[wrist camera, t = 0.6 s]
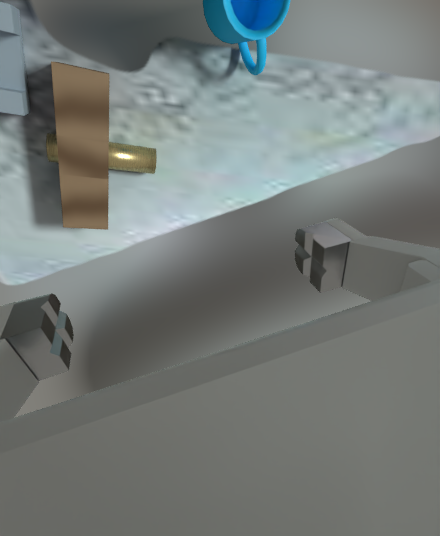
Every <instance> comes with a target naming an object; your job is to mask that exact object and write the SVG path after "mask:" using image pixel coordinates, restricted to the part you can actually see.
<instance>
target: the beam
mask: <svg viewBox="0 0 440 536" xmlns="http://www.w3.org/2000/svg"><path fill="white" fill-rule="evenodd" d="M51 67H52V80H53V94H54V107H55V121H56V135H57V148H58V162H59V175H60V189H61V202H62V216H63V227H68V228H89V229H108V165H109V73H105V72H100V71H96V70H91V69H87V68H82V67H77V66H73V65H68V64H64V63H59V62H51Z"/></svg>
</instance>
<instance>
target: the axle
mask: <svg viewBox="0 0 440 536" xmlns="http://www.w3.org/2000/svg"><path fill="white" fill-rule="evenodd" d="M46 148H47V157H48V160H49V162H56V163H59V162H58V148H57V135H56V134H51V133H48V134H47V138H46ZM108 169H116V170H125V171H134V172H142V173H151V174H154V173H155V169H156V149H154V148H147V147H140V146H133V145H126V144H119V143H112V142H109V165H108Z"/></svg>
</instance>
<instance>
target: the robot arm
mask: <svg viewBox="0 0 440 536" xmlns="http://www.w3.org/2000/svg"><path fill="white" fill-rule="evenodd" d="M295 241H296V242H297V243H298V244H299V245H298V247H297V248H296V250H295V262H296V266H297V268H298V270H299V271H300V272H301V273H302V274H303V275H305V276H308V277H310V283H311V284H312V285H313V286H314V287H315V288H316V289H317V290H318V291H319V292H320V293H322V292H326V291H329V290H333V289H336V288H340V287H342V288H344V289H346V290H348V291H350V292H353V293H355V294H357V295H359V296H362V297H364V298H366V299H369V300H371V302H368V303H365V304H362V305H359V306H355V307H352V308H349V309H347V310H343V311H341V312H337V313H334V314H331V315H328V316H325V317H322V318H319V319H316V320H312V321H310V322H306V323H304V324H300V325H297V326H294V327H291V328H288V329H285V330H282V331H279V332H276V333H273V334H269V335H266V336H263V337H260V338H257V339H254V340H251V341H248V342H245V343H242V344H239V345H236V346H233V347H230V348H227V349H224V350H221V351H218V352H215V353H212V354H209V355H205V356H202V357H199V358H196V359H193V360H190V361H187V362H184V363H181V364H178V365H175V366H172V367H169V368H166V369H162V370H159V371H156V372H153V373H151V374H147V375H144V376H141V377H138V378H135V379H132V380H129V381H126V382H123V383H120V384H116V385H114V386H110V387H107V388H104V389H101V390H98V391H95V392H92V393H89V394H86V395H83V396H80V397H77V398H74V399H70V400H67V401H64V402H61V403H58V404H55V405H52V406H49V407H46V408H43V409H40V410H37V411H34V412H30V413H27V414H24V415H21V416H18V417H15V418H14V416H15V415H16V414H17V413H18V411H19V410H20V408H21V407H22V406H23V404H24V403H25V401H26V400H27V399H28V397H29V396H30V394H31V393H32V391H33V390H34V389H35V387H36V386H37V385H38V383H39V381H40V380H42V379H46V378H49V377H51V376H54V375H58V374H61V373H64V372H67V371H69V367H70V360H71V352H70V350H69V349H68V348H69V346H70V345H71V344H72V343H73V336H74V334H73V327H72V324H71V321H70V319H69V317H68V315H67V314H66V313H64V312H62V311H59V310H60V305H61V303H60V301H59V300H58V298H57V297H56V295H54V294H52V293H51V294H47V295H43V296H39V297H35V298H31V299H26V300H22V301H18V302H13V303H10V304H6V305H3V306H0V536H440V249H438V248H432V247H427V246H422V245H417V244H412V243H406V242H401V241H396V240H390V239H385V238H380V237H375V236H369V237H367V236H365V235H364V234H362V233H360V232H359V231H357V230H356V229H354V228H353V227H351V226H350V225H348V224H346V223H345V222H343V221H342V220H340V219H336V218H334V219H331V220H328V221H324V222H322V223H318V224H315V225H311V226H308V227H304V228H301V229H297V231H296V234H295Z"/></svg>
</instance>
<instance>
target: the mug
mask: <svg viewBox="0 0 440 536" xmlns="http://www.w3.org/2000/svg"><path fill="white" fill-rule="evenodd" d="M289 5H290V0H203V8H204V15H205V18H206V21H207V24H208V27H209V28H210V30H211V31H212V32H213V34H214V35H215V36H216V37H217V38H219V39H220V40H221V41H223V42H226V43H230V44H235V43H238V45H239V49H240V52H241V56H242V59H243V61H244V63H245V66H246V68H247V69H248V71H249V72H250V73H251V74H253V75H258V74H259V73H261V72H262V71H263V69H264V66H265V62H266V37H268V36H270V35H271V34H273V33H274V32H275V31H276V30H277V29H278V28H279V26H280V25H281V24H282V23H283V21H284V18H285V16H286V14H287V12H288V9H289ZM254 40H256V43H257V63H256V65H255V63H254V62H253V59H252V57H251V55H250V52H249V48H248V45H247V41H254Z"/></svg>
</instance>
